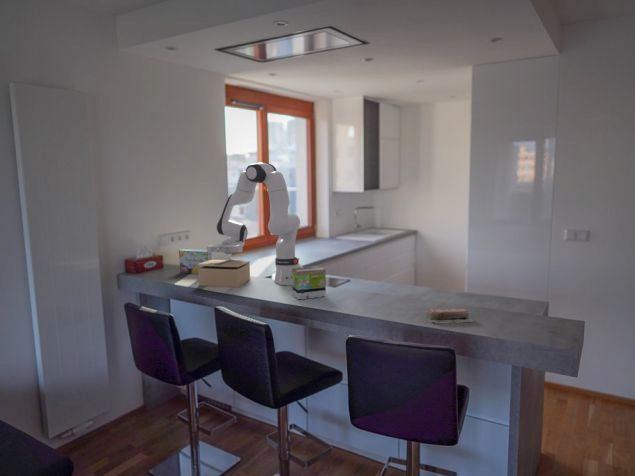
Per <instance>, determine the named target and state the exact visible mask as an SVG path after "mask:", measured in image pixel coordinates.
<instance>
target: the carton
mask: <svg viewBox="0 0 635 476" xmlns="http://www.w3.org/2000/svg"><path fill="white" fill-rule="evenodd" d="M250 268H251V267H250V263H247V264H245V265H242V266H239V267H218V266H202V267H200V268H198V274H197V275H198V285H199V286H202V287H223V288H224V287H225V288H226V287H228V288H239V287H241V286H242V285H244V284H246V283H247V282H248V281H250V280H251V270H250ZM240 285H241V286H240Z"/></svg>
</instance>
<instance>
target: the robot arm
mask: <svg viewBox="0 0 635 476" xmlns="http://www.w3.org/2000/svg"><path fill="white" fill-rule="evenodd" d="M263 183H264V184H265V186H266V188H267V195H268V198H269V204H270V217H269V221H268V224H267V230H268V231H269V233H270V234H272V235H274V236H278V238H277V241H276V243H275V260H274V264H275V274H274V275H275V277H274V283H275V284H278V285H280V286H292V268H301V267H304V266H302V265H301V264H300V263H299V260H300V257H296V238H297V234H298V230H299V227H300V226H301V220H300V217H299V216H298V215H296V214H294V213H289V205H290V204H291V202H290V196H289V191H288V188H287V187H288V186H287V184H286V181H285V178H284V175H283V173H282V172H280V171H277V168H276V167H275V165H273V164H271V163H267V162H257V163H255V162H254V163H251V164H249V165H248V166H247V167H246V168H245V170H243V171H242V172H241V173H240V175H239V177H238V180H237V184H236V187H235V190H234V192H233V194H230V195H229V196H228V197H227V199H226V202H225V205H224V208H223V210H222V213H221V215H220V218H219V220H218V222H217V224H216V230H217V233H218V234H219V235H222V236H226V237H229V238H227V239H225V240H222V242H221V244H219V243H217V244H210V245H206V250H207V252H212V253H223V254H225V255H232V254H237V253H243V251H244V249H243V248H244V246H245V243H246V239H247V237H248V228H247V225H246V224H243V223H241V222H239V221H238V222H236V221H233V220H230V215H231V213H232V211H233V209H234V207H235V206H240V205H246V204H248V203H251V202H252V201H253V200H254V197H255V193H256V188H257V184H263Z"/></svg>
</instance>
